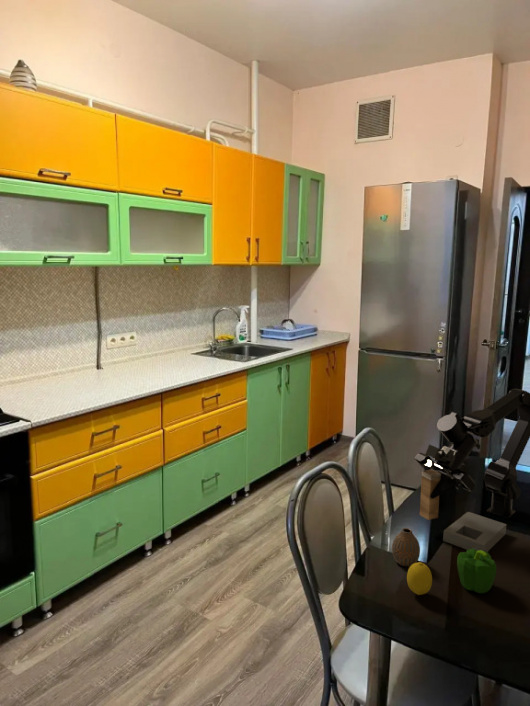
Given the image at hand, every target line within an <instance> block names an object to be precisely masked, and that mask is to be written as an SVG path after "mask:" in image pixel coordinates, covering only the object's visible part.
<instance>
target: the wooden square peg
mask: <svg viewBox="0 0 530 706" xmlns="http://www.w3.org/2000/svg"><path fill="white" fill-rule="evenodd" d="M440 480H441V473H440V472H438V471H437V472H436V471H434V470H432V469H430V470H425V471H424V470H422V471H421V481H420V484H421V485H420V490H421V492H420V502H419V503H420V504H419V516H421V517H422V518H424V519H426V520H428V521H430V520H434V519H438V518H439V509H440V508H439V504H440V495H439V496H437V497H435V498H433V499H432V498H431V497H430V495H431V493H432V492H433V490H434V489H435V487H436V486H437V484H438V483H439V481H440Z"/></svg>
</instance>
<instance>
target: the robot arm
mask: <svg viewBox="0 0 530 706" xmlns="http://www.w3.org/2000/svg"><path fill="white" fill-rule="evenodd" d="M516 410H517V413H518V419H517V421H516V423H515V425H514V428H513V430H512V432H511V434H510V436H509V438H508V440H507V442H506V444H505V447H504V449H503V451H502V453H501V455H500V457H499V459H498V460H496V461H490V462H489V463H488V465H487V468H486V470H485V471H484V474H483V481H484V485H485V488H486V490H487V491H489V492H491V493H492V494H491V495H492V496H491V504H490V505H491V506H490V507H489V508H488V509H486V512H487V513H489V514H492V515H495V516H499V517H501V518H505V519H510V518H511V517H512V516H513V515H515V513H516V510H515V509H513V500H514V501H515V500H518V498H520V497H521V493H522V489H521V488H520V487H519V486H518V484H517V480H518V473H517V466H518V463H519V462H520V459H521V457H522V455H523V453H524V451H525V449H526V447H527V445H528V442H529V441H530V392H529V391H527V390H525V389H524V390H523V389H520V388H519V389H518V388H512V389H510V390H509V391H508V392H507V393H506V394H505V395H503V396H501V398H499V399H497V400H496V401H494V402H493V403H491V405H489V406H487V407H486V408H484V409H479V410H474V411H471V412H469V413H467V414H465V415H464V417H461V416H460V414H459V413H457V412H454V411H451V412H450V413H449V414H446V415H443V416H441V418H439V419H438V421H437V424H436V428H437V429H438V431H439V432H440V433H441V434H442V435H443V436H444V438H445V439H446V440H447V441H448V442H450V443H449V444H448V445H447V446H446V445H444V446H443V447H442V448H439V447H437V446H434V445H432V444H428V447H427V449H426V451H425V453H424V452H418V453H416V455H415V456H414V458H413V459H414V461H416V463H418V465H419V466H420V467H421V468H422V469H423V471H425V470H430V469H432V470H434V471H436V472H438V473H440V474H441V478H440V481H439V483H438V484H437V486H436V487H435V489H434V490H433V492H432V493H431V495H430V497H431V498H432V499H433V498H435V497H437V496H439V497H440V496H441V495H443V494H446V493H447V492H450V491H453V490H455V489H457V490H459V489H460V484H461V486H462V488H463V490H466V491H467V492H470V493H472V492H473V491H474V489H475V487H476V481H475V480H474V479H473V478H472V476H470V474H469V473H468V472H466V471H463V470H461V469H460V468H461V467H462V465H464V466H466V465H467V464H468V462H467V461H466V460H467V458H468V456H469V455H470V454H471V452H472V451H473V449H477V450H480V449H481V444H480V439H479V438H482V439H483V438H487V437H488V436H489V435H490V434H491V433H492V432H493V431H494V430H495V429H496V425H497V423H498V422H499V421H501V420H503V419H504V418H505V417H506V416H508V415H509V414H510V413H512V412H514V411H516ZM473 435H474V436H477V437H479V438H475V437H474V436H473ZM419 491H420V493H421V489H420V490H419Z"/></svg>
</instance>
